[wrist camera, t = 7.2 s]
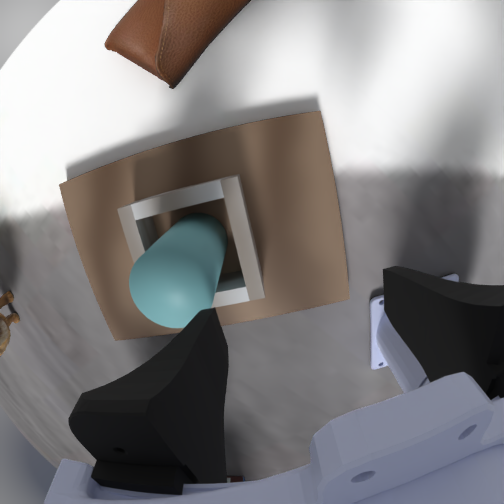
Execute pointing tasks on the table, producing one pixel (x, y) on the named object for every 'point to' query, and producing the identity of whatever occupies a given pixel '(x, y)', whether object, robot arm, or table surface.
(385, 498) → the robot arm
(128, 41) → the sunglasses case
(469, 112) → the table surface
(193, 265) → the peg
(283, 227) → the socket board
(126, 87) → the table surface
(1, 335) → the lion figurine
